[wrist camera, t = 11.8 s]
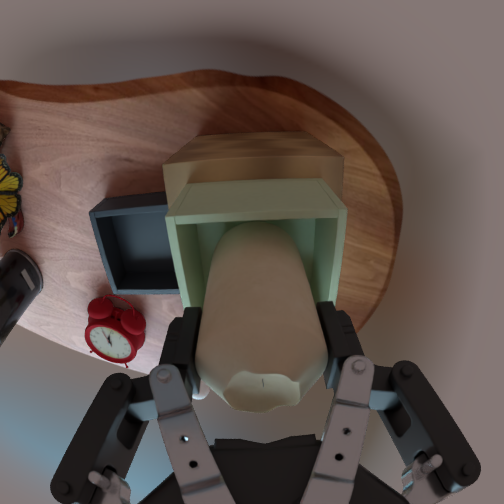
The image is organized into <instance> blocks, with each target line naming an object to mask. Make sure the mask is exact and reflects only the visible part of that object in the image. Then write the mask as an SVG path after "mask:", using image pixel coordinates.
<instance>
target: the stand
mask: <svg viewBox="0 0 504 504" xmlns="http://www.w3.org/2000/svg"><path fill="white" fill-rule="evenodd" d="M162 168H163V175H164V182H165V189H166V196H167V203H168V209H170V208H171V206H172V205H173V203H174V202H175V200H176V198H177V197H178V195H179V194H180V192H181V191H182V189H183V188H184V186H185V185H186V184H189V183H202V182H217V181H233V180H255V179H287V178H322V179H323V180H324V181H325V182H326V183H327V185H328V186H329V187H330V188H331V189H332V191H333V192H334V193H335V194H336V195H337V197H338V198H339V199H340V200H341V202H342V188H343V172H344V156H342V155H341V154H339V153H338V152H336V151H335V150H333V149H332V148H330V147H329V146H327V145H326V144H324V143H323V142H321V141H320V140H318V139H316V138H315V137H313V136H312V135H310V134H308V133H307V132H249V133H230V134H216V135H204V136H196V137H195V138H194V139H193V140H191V141H190V142H189V143H187V144H186V145H185V146H184V147H182V148H181V149H180V150H179V151H177V152H176V153H175V154H174V155H173V156H171V157H170V158H169V159H168V160H167V161H165V162H164V163H163V164H162Z"/></svg>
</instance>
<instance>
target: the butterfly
mask: <svg viewBox="0 0 504 504" xmlns="http://www.w3.org/2000/svg"><path fill="white" fill-rule="evenodd" d="M10 172H11V169H10V167H9V166H8V164H7V162H6V156H5V155H4V154H0V235H1V230H2V228H3V226H4V225H5V223H6V221H7V218H12V217H15V216H16V215H17V213H18V212H19V210H20V206H21V196H20V195H19V194H17V192H18V191H20V190H21V189H22V186H23V179H22V177H21V176H20V174H18V173H16V172H11V173H10Z"/></svg>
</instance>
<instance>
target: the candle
mask: <svg viewBox="0 0 504 504" xmlns="http://www.w3.org/2000/svg"><path fill="white" fill-rule="evenodd" d="M327 362H328V350H327V346H326V342H325V339H324V335H323V331H322V328H321V324H320V321H319V317H318V314H317V310H316V306H315V303H314V300H313V296H312V293H311V289H310V286H309V283H308V279H307V276H306V273H305V269H304V266H303V263H302V259H301V256H300V253H299V250H298V248H297V246H296V244H295V242H294V240H293V239H292V238H291V237H290V235H289V234H288V233H287V232H285V231H284V230H283V229H281V228H280V227H278V226H276V225H273V224H270V223H266V222H247V223H243V224H240V225H238V226H235V227H233V228H232V229H230V230H229V231H227V232H226V233H225V234H224V235H223V236H222V237H221V239H220V240H219V241H218V243H217V245H216V247H215V249H214V252H213V256H212V261H211V266H210V272H209V277H208V283H207V288H206V294H205V299H204V305H203V311H202V317H201V323H200V329H199V335H198V341H197V347H196V354H195V367H196V370H197V373H198V375H199V377H200V378H201V379H202V381H203V382H204V383H205V384H207V385H208V386H209V387H210V388H211V389H212V390H213V391H214V392H215V393H217V394H218V395H219V396H220V397H221V398H222V399H223V400H224V401H226V402H227V404H229V406H230V407H232V408H233V409H235V410H240V411H247V412H254V413H266V412H269V411H271V410H273V409H274V408H276V407H278V406H294V405H296V404H298V403H299V402H300V400H301V399H302V397H303V396H304V395H305V394H306V392H307V391H308V390H309V389H310V388H311V387H312V386H313V384H314V383H315V382H316V381H317V380H318V379H319V378H320V376H321V375H322V374H323V372H324V371H325V369H326V366H327Z"/></svg>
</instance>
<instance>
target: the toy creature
mask: <svg viewBox="0 0 504 504" xmlns="http://www.w3.org/2000/svg"><path fill="white" fill-rule="evenodd" d="M209 390H210V387H209V386H208V385H207V384H205V383H204V382H203V381H202V379H201V383H200V391H199V394H193V395H192V397H193V398H194V399H203V398H205V397H206V396H207V395H208V393H209Z"/></svg>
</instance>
